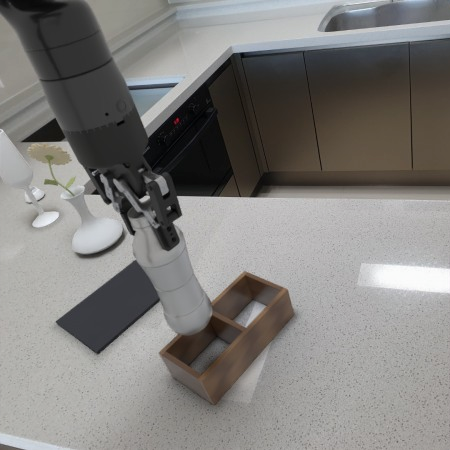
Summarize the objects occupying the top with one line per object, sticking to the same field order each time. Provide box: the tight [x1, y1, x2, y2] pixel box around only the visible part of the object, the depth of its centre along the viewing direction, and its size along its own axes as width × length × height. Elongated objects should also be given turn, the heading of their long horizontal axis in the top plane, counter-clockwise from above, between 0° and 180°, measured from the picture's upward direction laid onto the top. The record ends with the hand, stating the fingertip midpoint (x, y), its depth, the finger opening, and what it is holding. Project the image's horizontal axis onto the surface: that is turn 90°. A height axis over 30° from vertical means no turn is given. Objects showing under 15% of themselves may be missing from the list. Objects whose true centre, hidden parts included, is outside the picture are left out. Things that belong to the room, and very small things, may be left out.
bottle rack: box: [158, 270, 295, 406], centre depth 73 cm, size 19×10×6 cm, turn 143°
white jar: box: [24, 186, 45, 203], centre depth 126 cm, size 5×3×5 cm
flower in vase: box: [26, 142, 124, 255], centre depth 97 cm, size 13×11×25 cm
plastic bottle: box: [127, 200, 212, 335], centre depth 60 cm, size 6×7×20 cm
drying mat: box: [55, 259, 161, 355], centre depth 87 cm, size 20×14×1 cm
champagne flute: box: [0, 128, 60, 228], centre depth 110 cm, size 7×7×24 cm
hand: (155, 238), depth 56 cm, fingers closed on plastic bottle, 6 cm apart
